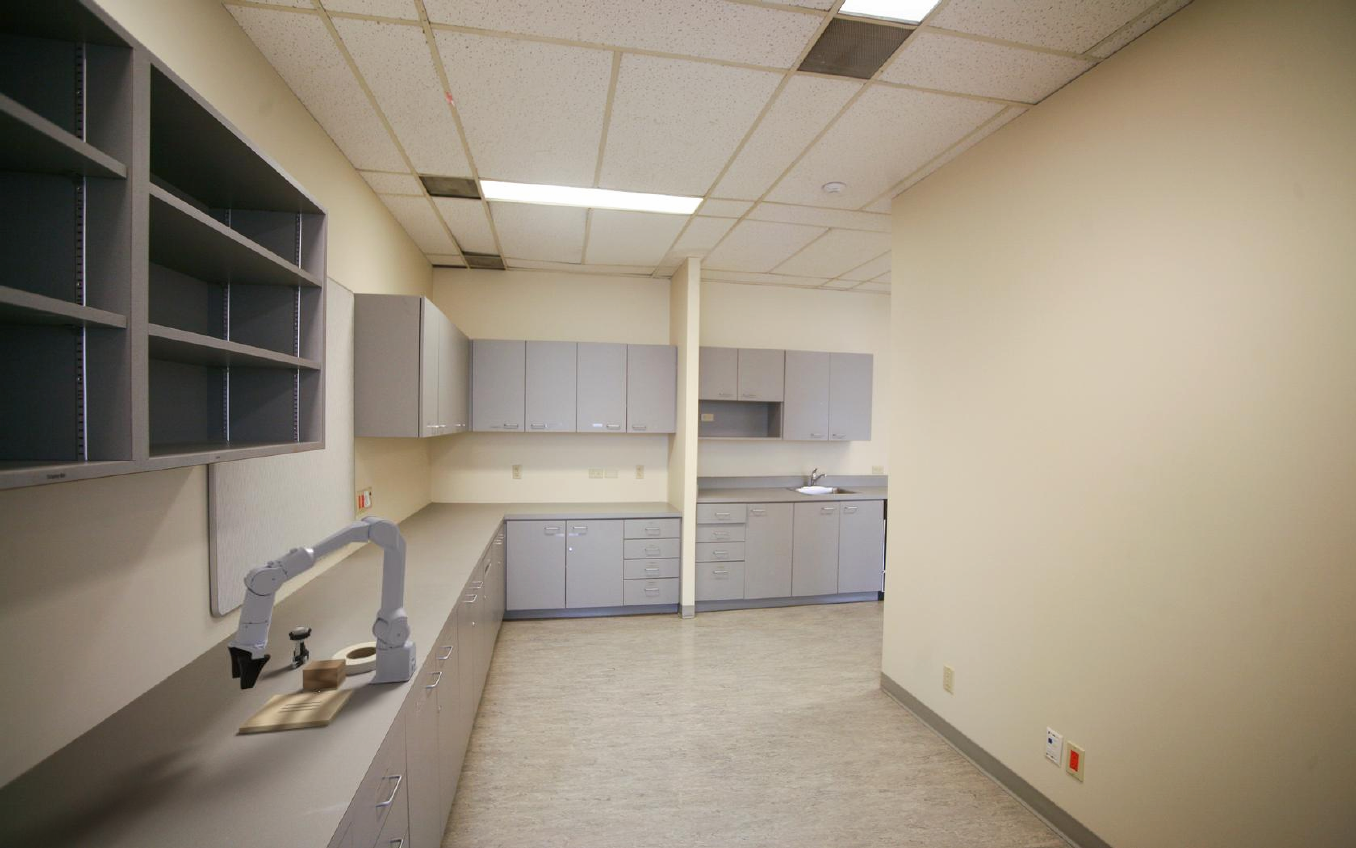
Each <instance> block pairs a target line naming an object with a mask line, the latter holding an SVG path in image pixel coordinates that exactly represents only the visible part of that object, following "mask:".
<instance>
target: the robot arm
mask: <svg viewBox="0 0 1356 848" xmlns="http://www.w3.org/2000/svg"><path fill="white" fill-rule="evenodd" d="M399 529H400V528H399V526H398V525H397V523H396V524H395V523H394V522H392V521H391V520H389V519H384V518H380V517H377V516H376V515H366V516H364V517H362V518H361V519H358V520H355V521H353V522H352V523H350V524H349V525H347V526H346V527H344V528H342V529H340V530H338V531H337V532H335V533H333V534H332V535H330V536H328V537H325V538H324V539H322V540H321V541H318V542H317V543H315V544H313V545H312V546H310V547H308V546H307V547H306V546H299V547H295V546H294V547H292V548H290V549H289V552H288V553H286V554H284V555H282V556H280V557H278V558H276V559H274V560H273V559H270V560H268V561H267V562H266V564H267V565H265V564H264V565H258V566H256V567H253V568H252V569H250V571H249V573H247V574H246V576H245V577H244V578H243V583H244V586H245V587H246V589H245V594H244V599H243V601H242V604H241V605H242V607H241V611H240V616H239V621H238V625H237V626H238V627H237V630H236V634H235V635H236V636H235V638H234V640H232V641H228V643H227V649H228V651H229V654H230V662H231V676H232V679H238V678H239V679H240V681H239V682H240V683H239V685H240V690H248V689H252V688H254V686H255V684H256V683H257V680H258V678H259V676H260V674H261V672H262V670H263V668H264V667H265V666H266V664H267V663H268V662H269V661H270V659H271V655H270V653H266V654H265V652H266V646H267V644H268V642H269V638H268V635H269V632H270V631H269V630H270V627H271V620H272V615H273V611H274V605H275V601H276V593H277V592H278V591H279V590H280V589H281V588H282V586H283V584H284V583H286V582H288V581H290V580H292V579H294V578H295V577H297V576H299V575H302V574H303V573H305V572H307V571H309V570H310V569H312V568H314V567H315V565H316V563H317V561H318V560H319V559H320V558H322V557H325V556H327V555H329V554H330V553H332V552H334V551H337V550H339V549H340V548H343V547H345V546H348V545H349V544H351V543H358V544H359V543H360V544H361V543H363V544H364V543H365V544H366V543H368V542H372V543H374V544H375V545H376V546H378V547H379V548H381V550H383V562H382V563H383V565H382V584H381V597H380V599H381V600H380V601H381V602H380V609H378V611H377V612H376V619H375V621H374V623H373V625H372V629H371V632H372V634H373V636H374V637H375V638H376V641H377V642H376V641H375V642H376V669H375V674H374V676H373V677H372V678H371V680H370V681H369V684H370V685H372V684H375V685H376V684H384V683H386V684H387V683H395V682H396V683H397V682H407V681H409V680H410V679H411V677H412V675H413V674H414V673H415V671H416V669H417V668H418V666H417V644H416V642H415V641H408V639H409V637H410V634H411V628H410V626H409V623H408V615H407V613H406V611H405V609H404V595H405V594H404V593H405V579H406V578H405V575H406V573H405V572H406V560H407V559H406V557H407V556H406V555H407V542H406V539H405V538H404V536H403V534H402V533H401V531H400V530H399Z"/></svg>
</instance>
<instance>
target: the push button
mask: <svg viewBox="0 0 1356 848" xmlns="http://www.w3.org/2000/svg"><path fill="white" fill-rule="evenodd" d="M312 632H313V631H312V628H310V627H308V625H300V626H297V627H294V628H293V629H292V630H291V631H289V633H288V636H289V640H290V641H292V642H295V645H294V646H295V648H294V651H293V657H292V664H291V665H292V667H291V668H292V669H295V668H297V667H301V666H302V665H303V664H304V663H307V661H308V660H309V658H310V650H309V649H307V648H306V640H307V639H308V638H309V637H311V633H312Z"/></svg>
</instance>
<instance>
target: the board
mask: <svg viewBox="0 0 1356 848" xmlns="http://www.w3.org/2000/svg"><path fill="white" fill-rule="evenodd" d="M354 695H355V688H346V689H338V690H332V691H320V692H308V693H303V692H298V693H287V694H274V695H273V696H272V697H271V698H270V699H269V700H268V701H267V702H266V703H264V705H263V706H261V708H259V709H258V710H257V711H256V712H255V713H253V715H252V716H251V717H250V718H248V719H247V720H246V721H245V722H244V723H243V724H242V725H241V726H240V727H239V728H238V734H246V733H258V732H269V731H280V729H281V730H288V729H289V730H292V729H300V728H310V727H321V726H329V725H331V723H332V722H333V720H334V719H335V718H336V717H337V716H338V714H339V713H340V712H341V710H343V709H344V707H345V706H346V705H347V704H348V702H349V701H350V699H352V697H353V696H354Z"/></svg>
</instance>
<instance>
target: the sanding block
mask: <svg viewBox="0 0 1356 848" xmlns="http://www.w3.org/2000/svg"><path fill="white" fill-rule="evenodd" d="M346 675H347V674H346V659H336V660H331V659H325V660H313V661H311V662H310V663H309V664H307V666H306V667H305V668H303V669H302V693H308V692H319V691H332V690H340V688H341V687H342V685H344V683H345V682H346V680H347V679H346V677H347V676H346Z"/></svg>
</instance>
